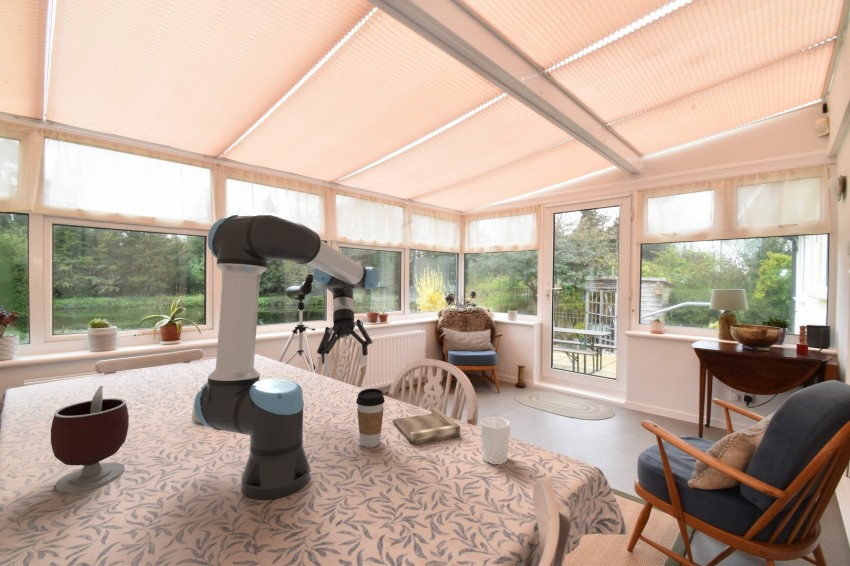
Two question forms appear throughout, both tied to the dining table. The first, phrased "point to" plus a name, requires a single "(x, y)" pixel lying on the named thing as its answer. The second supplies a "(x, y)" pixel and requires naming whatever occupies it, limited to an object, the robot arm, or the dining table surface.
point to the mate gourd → (89, 441)
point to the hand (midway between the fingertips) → (345, 369)
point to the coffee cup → (370, 416)
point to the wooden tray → (427, 427)
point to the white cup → (495, 439)
